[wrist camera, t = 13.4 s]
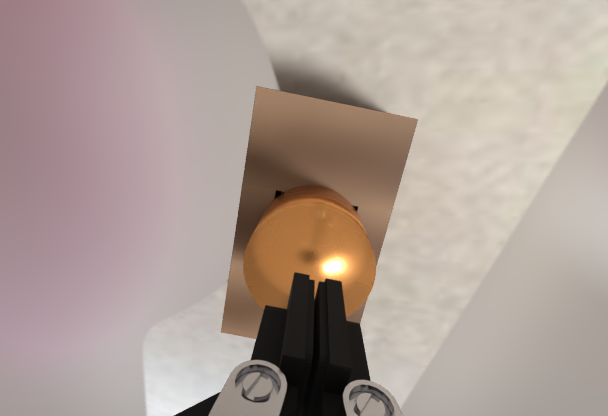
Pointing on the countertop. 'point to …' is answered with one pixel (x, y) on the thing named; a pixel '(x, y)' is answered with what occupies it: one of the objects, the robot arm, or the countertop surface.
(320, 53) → the countertop surface
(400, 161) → the block
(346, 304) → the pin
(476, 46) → the countertop surface
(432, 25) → the countertop surface
